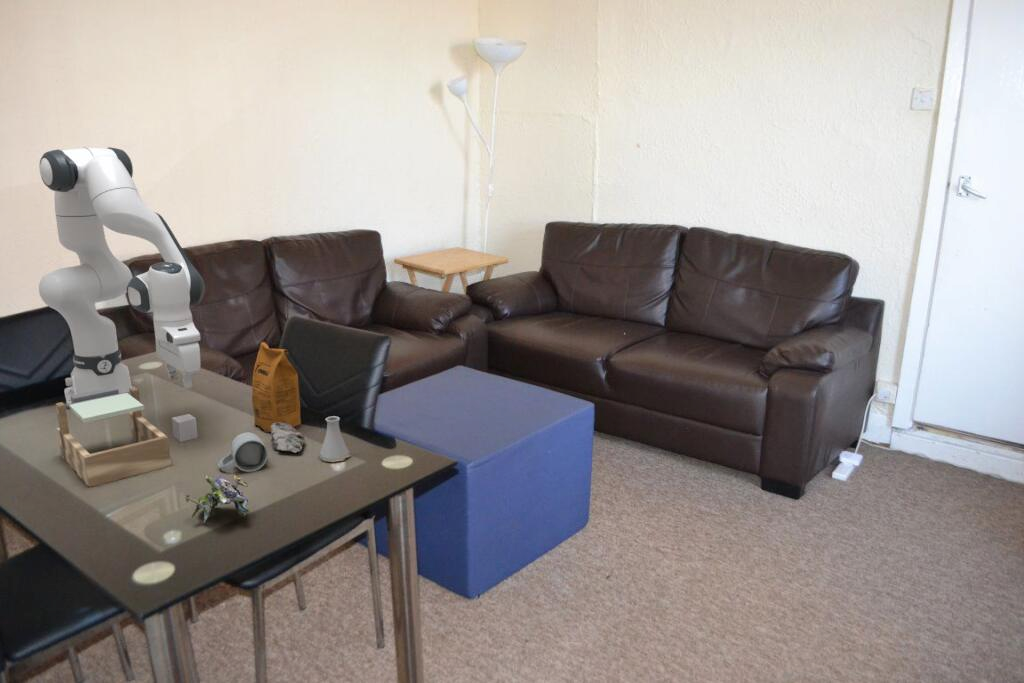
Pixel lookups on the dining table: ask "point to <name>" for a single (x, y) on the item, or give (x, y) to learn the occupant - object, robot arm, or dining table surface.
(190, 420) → the light grey block
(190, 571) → the dining table surface
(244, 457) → the ceramic mug
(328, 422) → the flask
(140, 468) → the trapdoor frame
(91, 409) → the trapdoor
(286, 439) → the mineral rock
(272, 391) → the coffee package
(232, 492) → the passion flower
